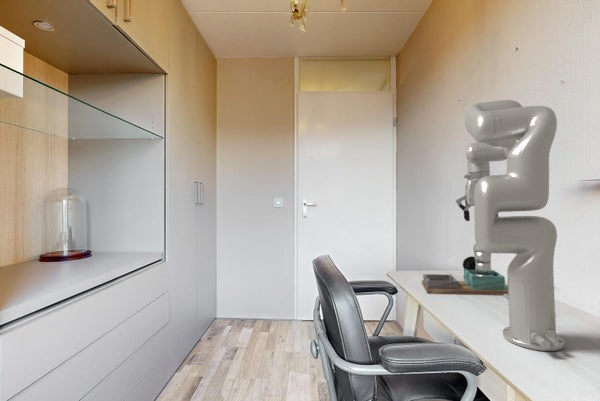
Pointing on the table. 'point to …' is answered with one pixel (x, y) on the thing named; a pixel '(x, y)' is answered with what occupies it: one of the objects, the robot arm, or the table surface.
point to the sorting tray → (465, 284)
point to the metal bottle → (482, 262)
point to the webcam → (469, 263)
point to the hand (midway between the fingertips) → (480, 220)
